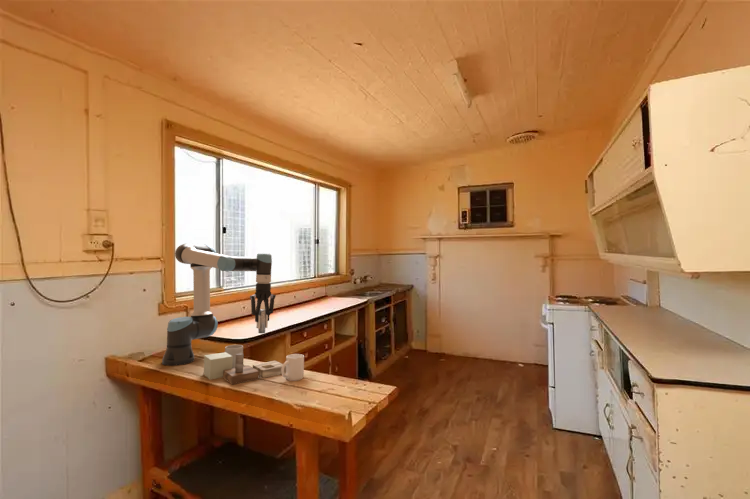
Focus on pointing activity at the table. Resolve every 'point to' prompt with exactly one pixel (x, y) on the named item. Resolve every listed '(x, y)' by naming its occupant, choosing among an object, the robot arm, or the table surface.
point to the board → (244, 374)
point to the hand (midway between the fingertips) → (261, 327)
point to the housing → (217, 364)
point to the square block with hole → (269, 368)
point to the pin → (262, 320)
